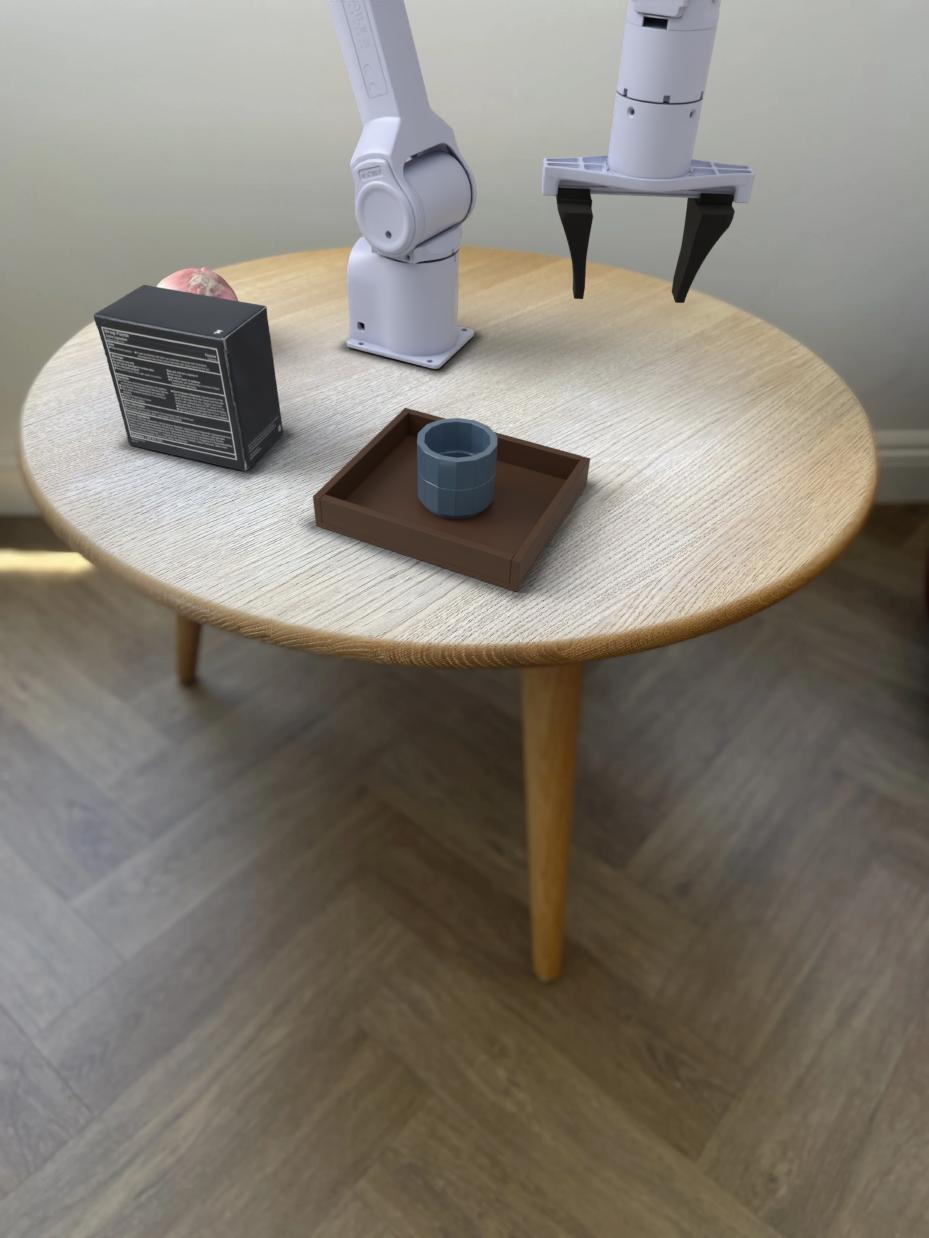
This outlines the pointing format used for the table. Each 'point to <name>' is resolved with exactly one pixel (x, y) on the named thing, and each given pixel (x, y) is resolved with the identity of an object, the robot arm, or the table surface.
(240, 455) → the small box
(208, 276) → the onion
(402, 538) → the tray
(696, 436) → the table surface
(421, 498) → the cup
